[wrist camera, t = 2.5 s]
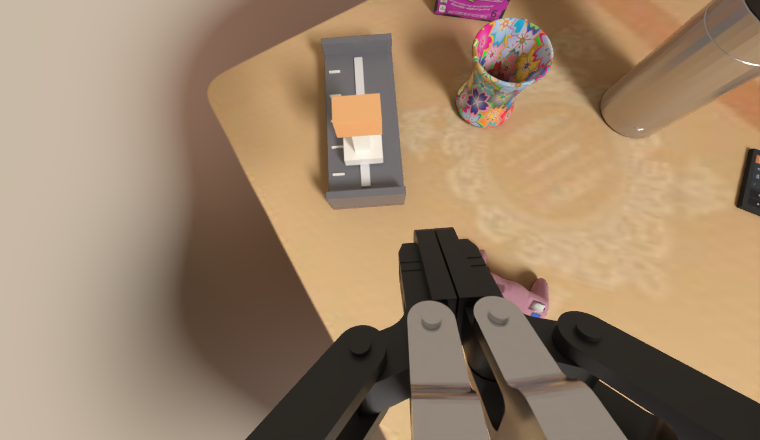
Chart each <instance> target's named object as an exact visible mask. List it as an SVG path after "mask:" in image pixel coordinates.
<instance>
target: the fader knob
mask: <svg viewBox="0 0 760 440" xmlns="http://www.w3.org/2000/svg"><path fill="white" fill-rule="evenodd" d="M331 99H332V123H333V126H334V129H335V132H336V135H337V138H342V137H343V143H344V161H345V164H346V166H348V165H362V164H375V163H383V150H382V137H381V135H382V115H381V102H380V93H375V94H362V95H348V96H335V97H331Z"/></svg>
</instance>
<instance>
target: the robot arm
mask: <svg viewBox="0 0 760 440" xmlns="http://www.w3.org/2000/svg"><path fill="white" fill-rule="evenodd" d="M759 76H760V0H712V1H711V2H709V3H708V4H707V5H706V6H705V7H704V8H702V9H701V10H700V11H699V12H698V13H697V14H695V15H694V16H693V17H692V18H691V19H690V20H688V21H687V22H686V23H685V24H684V25H683V26H681V27H680V28H679V29H678V30H677V31H676V32H674V33H673V34H672V35H671V36H670V37H669V38H667V39H666V40H665V41H664V42H663V43H662V44H660V45H659V46H658V47H657V48H656V49H655V50H653V51H652V52H651V53H650V54H649V55H648V56H646V57H645V58H644V59H643V60H642V61H641V62H639V63H638V64H637V65H636V66H635V67H634V68H632V69H631V70H630V71H629V72H628V73H626V74H625V75H624V76H623V77H622V78H621V79H620V80H618V81H617V82H616V83H615V84H614V85H613V86H611V87H610V88H609V89H608V90H607V91H606V92H605V93H604V95H603V97H602V99H601V105H600V106H601V113H602V116H603V118H604V119H605V121H606V123H607V124H608V125H609V126H610V127H611V128H612V129H614V130H615V131H616V132H618V133H620V134H622V135H625V136H628V137H633V138H643V137H647V136H650V135H652V134H654V133H656V132H657V131H659V130H661V129H663V128H665V127H667V126H669V125H670V124H672V123H674V122H676V121H678V120H680V119H682V118H684V117H685V116H687V115H689V114H691V113H693V112H695V111H696V110H698V109H700V108H702V107H704V106H705V105H707V104H709V103H711V102H713V101H715V100H716V99H718V98H720V97H722V96H724V95H726V94H727V93H729V92H731V91H733V90H735V89H737V88H738V87H740V86H742V85H744V84H746V83H748V82H749V81H751V80H753V79H755V78H757V77H759ZM399 280H400V288H401V296H402V304H403V311H404V315H403V317H402V318H401V319H400V321H398V322H397V323H396V324H395V325H393V326H391V327H389V328H386V329H384V330H381V331H378V330H377V329H376V328H373V327H371V326H366V325H359V326H355V327H352V328H350V329H348V330H346V331H345V332H344V333H343V334H342V335H341V336H340V337H339V338H338V339H337V340H336V341H335V342H334V343H333V345H332V346H331V347H330V348H329V349H328V350H327V351H326V352H325V353H324V354H323V355H322V356H321V358H320V359H319V360H318V361H317V362H316V363H315V364H314V365H313V366H312V367H311V368H310V370H309V371H308V372H307V373H306V374H305V375H304V376H303V377H302V378H301V379H300V380H299V382H298V383H297V384H296V385H295V386H294V387H293V388H292V389H291V391H289V393H288V394H287V395H286V396H285V397H284V398H283V399H282V400H281V401H280V402H279V404H278V405H277V406H276V407H275V408H274V409H273V410H272V411H271V412H270V413H269V414H268V416H267V417H266V418H265V419H264V420H263V421H262V422H261V423H260V424H259V425H258V426H257V427H256V429H255V430H254V431H253V432H252V433H251V434H250V435H249V436H248V437H247V439H246V440H370V438H371V437H372V435H373V434H374V432H375V430H376V429H377V427H378V425H379V424H380V422H381V421H382V419H383V417H384V416H385V414H386V413H387V411H388V409H389V407H391V406H394V405H396V404H398V403H400V402H402V401H404V400H406V399H408V398H409V400H410V422H411V440H760V404H759V403H758V402H756V401H754V400H752V399H750V398H748V397H746V396H744V395H742V394H741V393H739V392H737V391H735V390H733V389H731V388H729V387H727V386H725V385H724V384H722V383H720V382H718V381H716V380H714V379H712V378H710V377H708V376H707V375H705V374H703V373H701V372H699V371H697V370H695V369H693V368H691V367H690V366H688V365H686V364H684V363H682V362H680V361H678V360H676V359H674V358H673V357H671V356H669V355H667V354H665V353H663V352H661V351H659V350H657V349H656V348H654V347H652V346H650V345H648V344H646V343H644V342H642V341H640V340H638V339H637V338H635V337H633V336H631V335H629V334H627V333H625V332H623V331H621V330H620V329H618V328H616V327H614V326H612V325H610V324H608V323H606V322H604V321H603V320H601V319H599V318H597V317H595V316H593V315H590V314H587V313H584V312H579V311H569V312H565V313H563V314H562V315H561V316H560V317H559V319H558V321H553V320H548V319H543V318H538V317H533V316H529V315H526V314H524V313H523V312H522V311H521V310H520V308H519V307H518V306H517V305H515V304H514V303H513V302H511V301H509V300H507V299H505V298H504V297H503V295H502V293H501V291H500V289H499V287H498V285H497V284H496V282H495V280H494V278H493V276H492V274H491V272H490V270H489V268H488V267H487V266H486V263H485V261H484V259H483V258H482V255H481V253H480V251H479V249H478V248H477V246H476V245H474V244H473V243H472V242H471V241H469V240H468V239H458V237H457V235H456V232H455V230H454V228H453V227H449V228H435V229H422V230H414V243H405V244H402V246H401V248H400V250H399ZM462 345H463V348H464V352H465V359H464V354H463V350H462ZM599 379H600V380H602V381H603V382H605V383H606V384H608V385H609V386H611V387H612V388H614V389H615V390H617V391H619V392H620V393H622V394H623V395H625V396H626V397H628V398H629V399H631V400H632V401H634V402H635V403H637V404H638V405H640V406H642V407H643V408H645V409H646V410H648V411H649V412H651V413H652V414H654V415H652V414H650V413H648V412H646V411H645V410H643V409H642V408H640V407H639V406H637V405H636V404H634V403H632V402H631V401H629V400H628V399H626V398H625V397H623V396H622V395H620V394H619V393H617V392H616V391H614V390H613V389H611V388H610V387H608V386H607V385H605V384H603V383H602V382H600V381H599ZM470 384H471V385H470ZM471 386H472V388H471ZM487 429H488V431H487ZM488 432H489V435H488ZM489 436H490V439H489Z"/></svg>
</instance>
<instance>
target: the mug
mask: <svg viewBox="0 0 760 440" xmlns="http://www.w3.org/2000/svg"><path fill="white" fill-rule="evenodd" d="M472 56H473V72H472V75H471V77H470V79H469V80H468V81H467V82H465V83H464V84H463V85H462V86H461V88H460V89H459V91H458V93H457V97H456V106H457V109H458V112H459V113H460V115H461V116H462V118H463V119H464V120H466V121H467V122H468V123H470V124H472V125H474V126H477V127H481V128H491V127H495V126H498V125H500V124H502V123H503V122H505V121H506V120H507V119H508V118H509V116H510V115H511V113H512V110H513V105H514V99H515V97H516V96H517V95H518V93H519V92H520V91H521V90H523V89H524V88H525V87H527V86H529V85H531V84H533V83H535V82H537V81H538V80H540V79H541V78H542V77H543V76H544V75H545V74H546V73H547V72H548V70H549V69H550V67H551V64H552V61H553V47H552V44H551V42H550V40H549V38H548V36H547V35H546V34H545V33H544V32H543V31H542V30H541V29H540V28H539V27H538V26H536V25H535V24H533V23H531V22H529V21H527V19H525V18H522V19H518V18H502V19H498V20H495V21H492V22H490V23H488V24H487V25H485V26H484V27H483V28H482V29H481V30H480V31H479V32H478V33H477V35H476V37H475V39H474V42H473V45H472Z"/></svg>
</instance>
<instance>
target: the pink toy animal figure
mask: <svg viewBox="0 0 760 440" xmlns="http://www.w3.org/2000/svg"><path fill="white" fill-rule="evenodd" d="M479 251H480V253H481V255H482V258H483V259H484V261H485V263H486V261H487V255H486V252H485V251H484V250H479ZM486 266H487V264H486ZM491 274H492V276H493V278H494V280H495V282H496V284H497V285H498V287H499V289H500V291H501V293H502V295H503V297H504V298H505V299H507V300H509V301H511V302H513V303H514V304H515V305H517V306H518V307H519V308H520V310H521V311H522V312H523V313H524V314H526V315H529V316H533V317H538V318H543V319H544V317H545V316H546V314H547V311H548V308H549V293H548V284H547V282H546V280H544V279H543V278H539V279H537V280H536V281H535V283H534V284H533V286H532V288H531V291H528V290H527V289H526V288H525V287H523V286H522V285H521V284H519V283H517V282H514V281H510V280H506V279H504V278H502V277H500V276H498V275H496V274H494V273H492V272H491Z"/></svg>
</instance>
